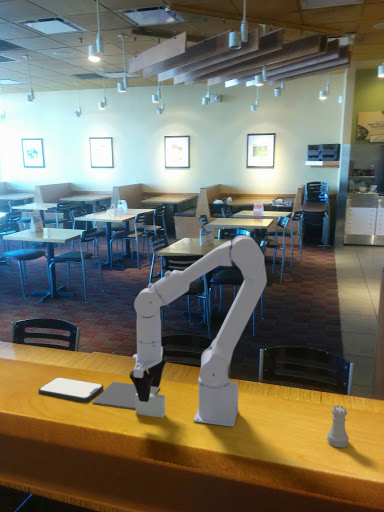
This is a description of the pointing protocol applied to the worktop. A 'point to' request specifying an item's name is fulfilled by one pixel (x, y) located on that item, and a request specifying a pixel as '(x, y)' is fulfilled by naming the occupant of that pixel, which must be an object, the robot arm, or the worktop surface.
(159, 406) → the block
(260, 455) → the worktop surface
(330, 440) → the rook chess piece
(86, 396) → the smartphone
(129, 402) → the mat
